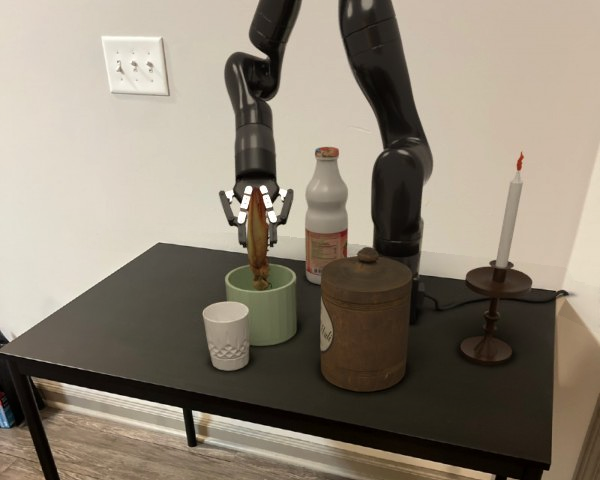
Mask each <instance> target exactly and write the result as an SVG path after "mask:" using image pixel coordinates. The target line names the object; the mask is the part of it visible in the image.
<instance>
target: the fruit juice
mask: <svg viewBox="0 0 600 480" xmlns="http://www.w3.org/2000/svg"><path fill="white" fill-rule="evenodd" d="M339 158H340V150H339V148H337V147H333V146H321V147H317V148H315V150H314V159H315V160H316V162H315V168H314V171H313V174H312V177H311V178H310V180H309V182H308V183H307V185H306V187H305V195H304V196H305V202H306V205H307V209H306V211H305V214H304V215H305V217H304V235H305V236H304V240H305V241H304V242H305V244H304V249H305V250H304V251H305V276H306V280H307V281H309V282H310V283H312V284H314V285H320V286H321V272H322V269H323V268H324V267H325V266H326V265H327V264H328V263H330V262H332V261H335V260H338V259H341V258H346V257H348V244H349V243H348V241H349V240H348V239H349V238H348V237H349V215H348V211H347V207H346V205H347V202H348V199H349V189H348V185H347V184H346V182H345V181H344V180H343V178H342V176H341V173H340V169H339V165H338V163H339V162H338V159H339Z"/></svg>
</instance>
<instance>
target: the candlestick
mask: <svg viewBox="0 0 600 480" xmlns="http://www.w3.org/2000/svg"><path fill="white" fill-rule="evenodd" d="M524 158H525V156H524V154H523V151H522V150H521V151H520V156H519V158H518V159H517V161H516V173H515V175H514V178H513V179H512V180H510V182H509V187H508V192H507V198H506V204H505V209H504V213H503V214H504V215H503V220H502V225H501V232H500V238H499V243H498V248H497V254H496V259H493V260H490V261H489V263H488V264H489V266H480V267H475V268H472V269H471V270H469V271H467V272H466V274H465V277H464V278H465V280H464V284H465V286H466V288H468V289H469V290H470V291H471V292H474V293H476V294H479V295H480V296H488V297H491V299H490V303H489V308H488V310H486V311H485V312H484V313H483V318H484V320H485V324H483V325H482V330H483V331H484V335H483V336H481V335H479V336H471V337H468V338H465V339H464V340H463V341H461V343H460V347H459V353H460V355H461V357H462V358H464V359H465V360H467V361H468V362H470V363H473V364H477V365H481V366H491V367H493V366H500V365H503V364H506V363H508V362H509V361H510V360H511V358H512V354H513V349H512V347H511V345H509V344H508V343H507V342H505V341H503V340H501V339H499V338H495V337H493V334H494V332H496V331H498V327H497V326H496V323H497V322H498V321H499V320H500V319H501V313H499V312H498V307H499V303H500V299H508V298H516V297H525V296H526V295H527V294H529V293H530V292H531V290H532V288H533V279H532V278H531V276H530V275H528V274H526V273H525V272H523V271H520V270H518V269H514V267H515V264H514V263H513V262H512V261H510V260H509V259H510V254H511V253H510V252H511V248H512V242H513V237H514V232H515V227H516V221H517V217H518V211H519V205H520V200H521V196H522V190H523V184H524V181H523V180H521V170H522V167H523V160H524Z"/></svg>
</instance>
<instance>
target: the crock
mask: <svg viewBox="0 0 600 480" xmlns="http://www.w3.org/2000/svg"><path fill="white" fill-rule="evenodd" d="M268 268H269V269H270V271H269V273H268V275H270V276H268V277H267V279H266V280H267V281H268V283H271V284H272V289H271V284H270V285H269V287H268V288H267V289H266V291H258V290H257V289H255V288H254V287H253V285H252V282H253V280H252V279H254V276H255V275H254V274H253V272H252V270H251V268H250V265H249V264H247V265H246V264H245V265H242V266H239V267H236V268H233V269H232V270H230V271H229V272H228V273H227V274H226V275H225V277H224V283H225V291H226V292H225V293H226V302H238V303H241V304H244V305H245V306H247V307H248V309H249V346H253V347H265V346H266V347H267V346H273V345H279V344H282V343H284V342H287V341H288V340H290V339H291V338H292V337H294V336H295V335H296V333H297V331H298V301H297V300H298V299H297V298H298V297H297V296H298V295H297V275H296V272H294V270H293V269H291V268H289V267H287V266H284V265H281V264H275V263H269V265H268Z"/></svg>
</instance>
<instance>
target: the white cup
mask: <svg viewBox="0 0 600 480" xmlns="http://www.w3.org/2000/svg"><path fill="white" fill-rule="evenodd" d="M202 319H203V324H204V330H205V337H206V341H207V346H208V351H209V354H210V360H211V365H212V366H213V367H214V368H216V369H218V370H221V371H225V372H227V371H237V370H239V369H243V368H244V367H245V366H247V365H248V364H249V361H250V345H249V309H248V307H247V306H245V305H244V304H241V303H238V302H227V301H220V302H215V303H212V304H210V305H208V306H206V307H205V308H204V309H203V310H202Z"/></svg>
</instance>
